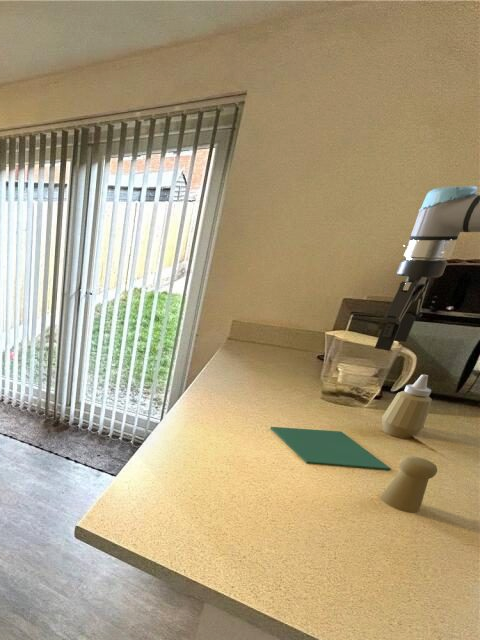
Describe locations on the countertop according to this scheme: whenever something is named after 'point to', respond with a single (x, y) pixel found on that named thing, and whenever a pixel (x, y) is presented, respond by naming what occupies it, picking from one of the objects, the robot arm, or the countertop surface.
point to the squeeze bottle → (408, 410)
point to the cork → (409, 484)
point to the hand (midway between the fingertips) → (390, 345)
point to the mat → (328, 448)
